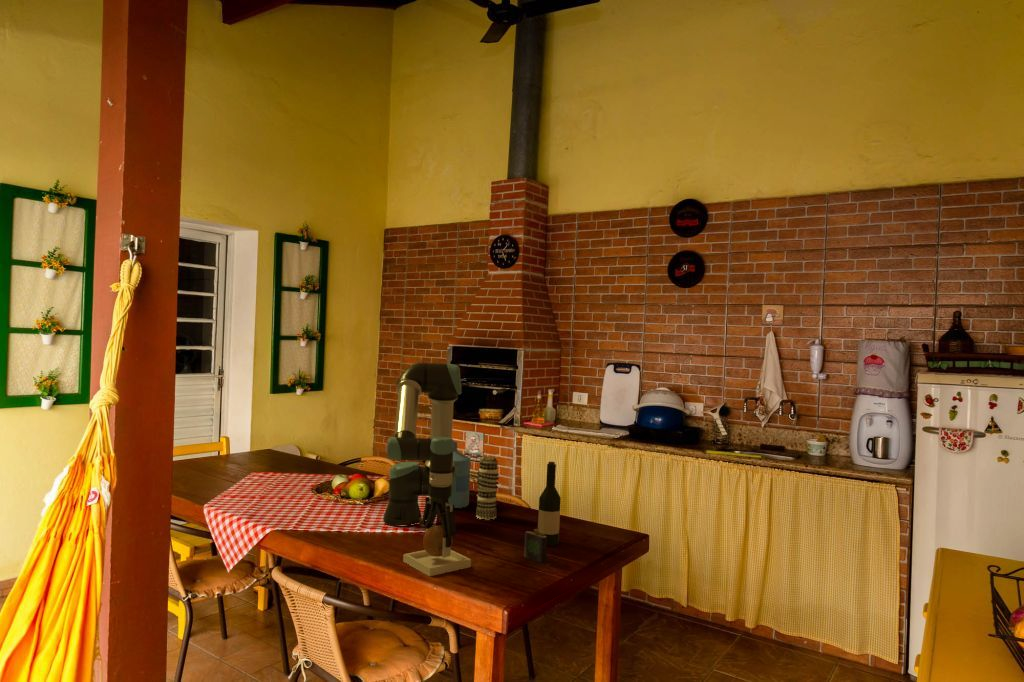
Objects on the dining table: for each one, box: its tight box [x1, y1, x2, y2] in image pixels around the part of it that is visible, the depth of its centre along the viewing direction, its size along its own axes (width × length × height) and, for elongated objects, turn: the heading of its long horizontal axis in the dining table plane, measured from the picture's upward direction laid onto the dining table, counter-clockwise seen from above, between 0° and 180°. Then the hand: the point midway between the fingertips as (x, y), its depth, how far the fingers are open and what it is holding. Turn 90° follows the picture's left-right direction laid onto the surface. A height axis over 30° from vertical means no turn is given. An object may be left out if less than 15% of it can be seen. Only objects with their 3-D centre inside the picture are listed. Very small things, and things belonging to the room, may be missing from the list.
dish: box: [402, 549, 472, 577], centre depth 226 cm, size 16×16×2 cm
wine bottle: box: [537, 461, 562, 546], centre depth 255 cm, size 8×8×30 cm
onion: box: [422, 524, 453, 557], centre depth 226 cm, size 10×10×10 cm
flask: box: [523, 528, 547, 564], centre depth 236 cm, size 9×3×11 cm, turn 48°
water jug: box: [448, 440, 472, 509], centre depth 304 cm, size 16×16×28 cm
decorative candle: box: [475, 455, 500, 521], centre depth 286 cm, size 9×9×25 cm
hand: (437, 552), depth 226 cm, fingers closed on onion, 10 cm apart
